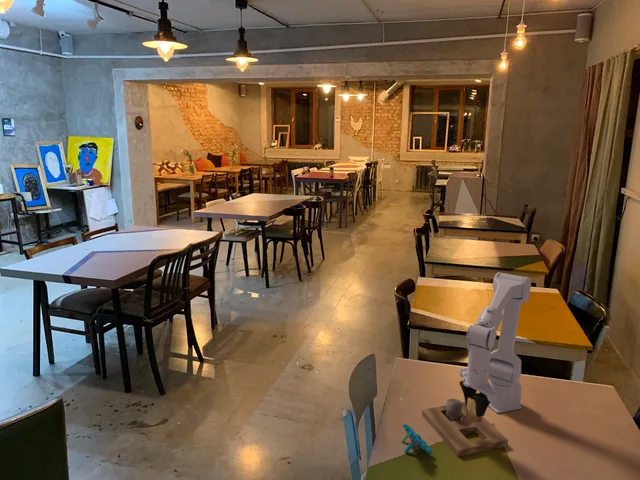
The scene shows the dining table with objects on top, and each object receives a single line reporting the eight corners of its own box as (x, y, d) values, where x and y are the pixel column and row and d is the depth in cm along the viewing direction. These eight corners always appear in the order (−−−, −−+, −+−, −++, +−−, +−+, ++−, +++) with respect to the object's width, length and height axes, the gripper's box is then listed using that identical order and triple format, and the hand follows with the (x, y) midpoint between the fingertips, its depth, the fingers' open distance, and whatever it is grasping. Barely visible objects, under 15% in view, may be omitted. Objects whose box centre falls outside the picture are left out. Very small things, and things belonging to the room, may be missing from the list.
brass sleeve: (475, 411, 136) (477, 392, 135) (486, 420, 132) (488, 401, 131) (462, 414, 135) (464, 396, 133) (473, 423, 131) (475, 404, 129)
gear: (439, 456, 126) (413, 433, 124) (424, 472, 126) (398, 450, 124) (424, 435, 137) (400, 414, 135) (410, 451, 137) (386, 430, 135)
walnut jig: (466, 407, 151) (467, 390, 150) (507, 445, 133) (509, 427, 131) (422, 415, 147) (423, 398, 146) (457, 456, 128) (459, 437, 127)
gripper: (451, 357, 136) (448, 399, 139) (481, 381, 122) (477, 428, 125) (472, 353, 138) (469, 395, 141) (504, 378, 124) (500, 423, 127)
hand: (474, 410), depth 133 cm, fingers closed on brass sleeve, 4 cm apart
